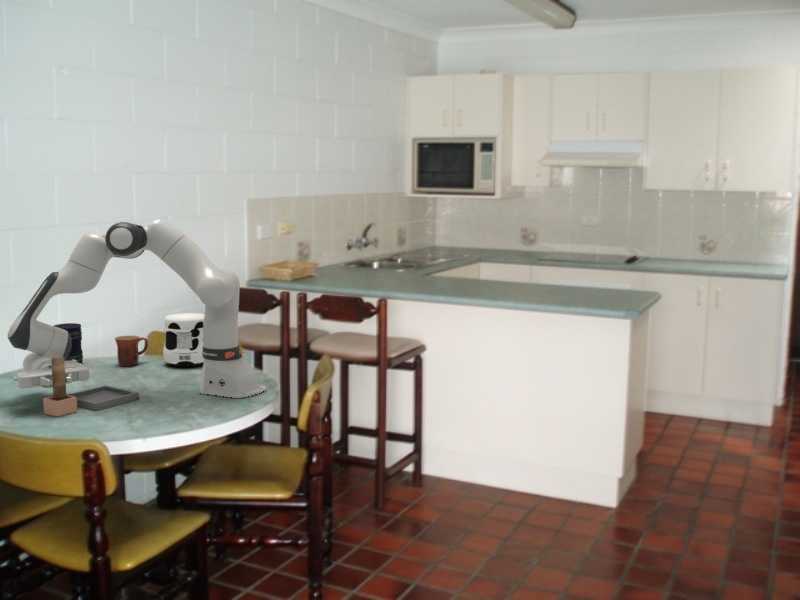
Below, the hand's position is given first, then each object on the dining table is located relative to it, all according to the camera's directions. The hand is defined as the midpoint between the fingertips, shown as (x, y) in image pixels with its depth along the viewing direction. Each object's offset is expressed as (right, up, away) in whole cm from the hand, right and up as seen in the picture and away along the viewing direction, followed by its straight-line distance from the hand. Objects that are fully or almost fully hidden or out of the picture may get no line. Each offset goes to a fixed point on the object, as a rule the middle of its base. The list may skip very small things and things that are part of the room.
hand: (59, 381), depth 251 cm
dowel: (-1, -9, +2) cm, 9 cm away
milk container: (+21, 0, +66) cm, 70 cm away
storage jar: (-21, 0, +62) cm, 66 cm away
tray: (+7, -7, +15) cm, 18 cm away
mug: (+1, 0, +65) cm, 65 cm away
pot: (-1, -9, +2) cm, 10 cm away
